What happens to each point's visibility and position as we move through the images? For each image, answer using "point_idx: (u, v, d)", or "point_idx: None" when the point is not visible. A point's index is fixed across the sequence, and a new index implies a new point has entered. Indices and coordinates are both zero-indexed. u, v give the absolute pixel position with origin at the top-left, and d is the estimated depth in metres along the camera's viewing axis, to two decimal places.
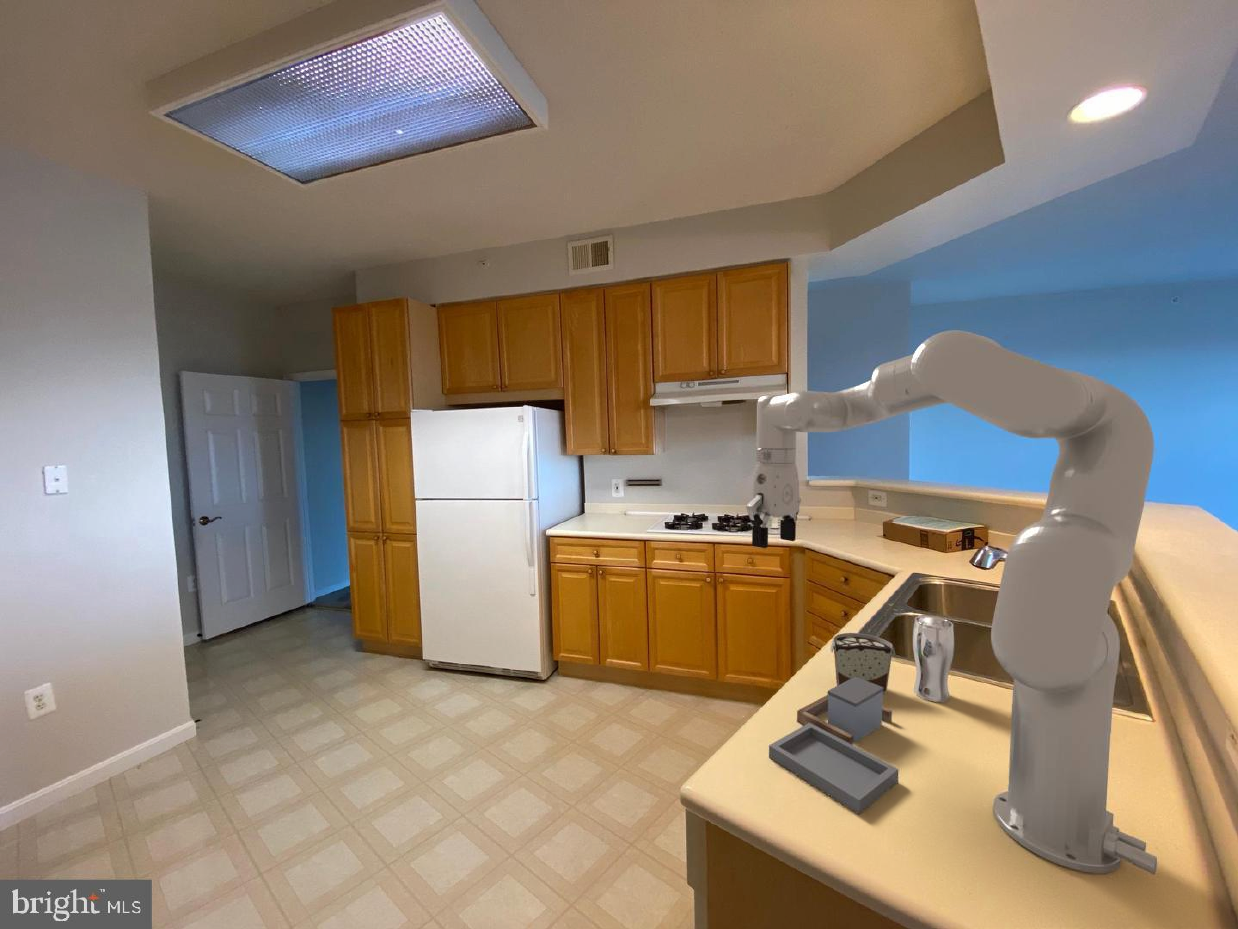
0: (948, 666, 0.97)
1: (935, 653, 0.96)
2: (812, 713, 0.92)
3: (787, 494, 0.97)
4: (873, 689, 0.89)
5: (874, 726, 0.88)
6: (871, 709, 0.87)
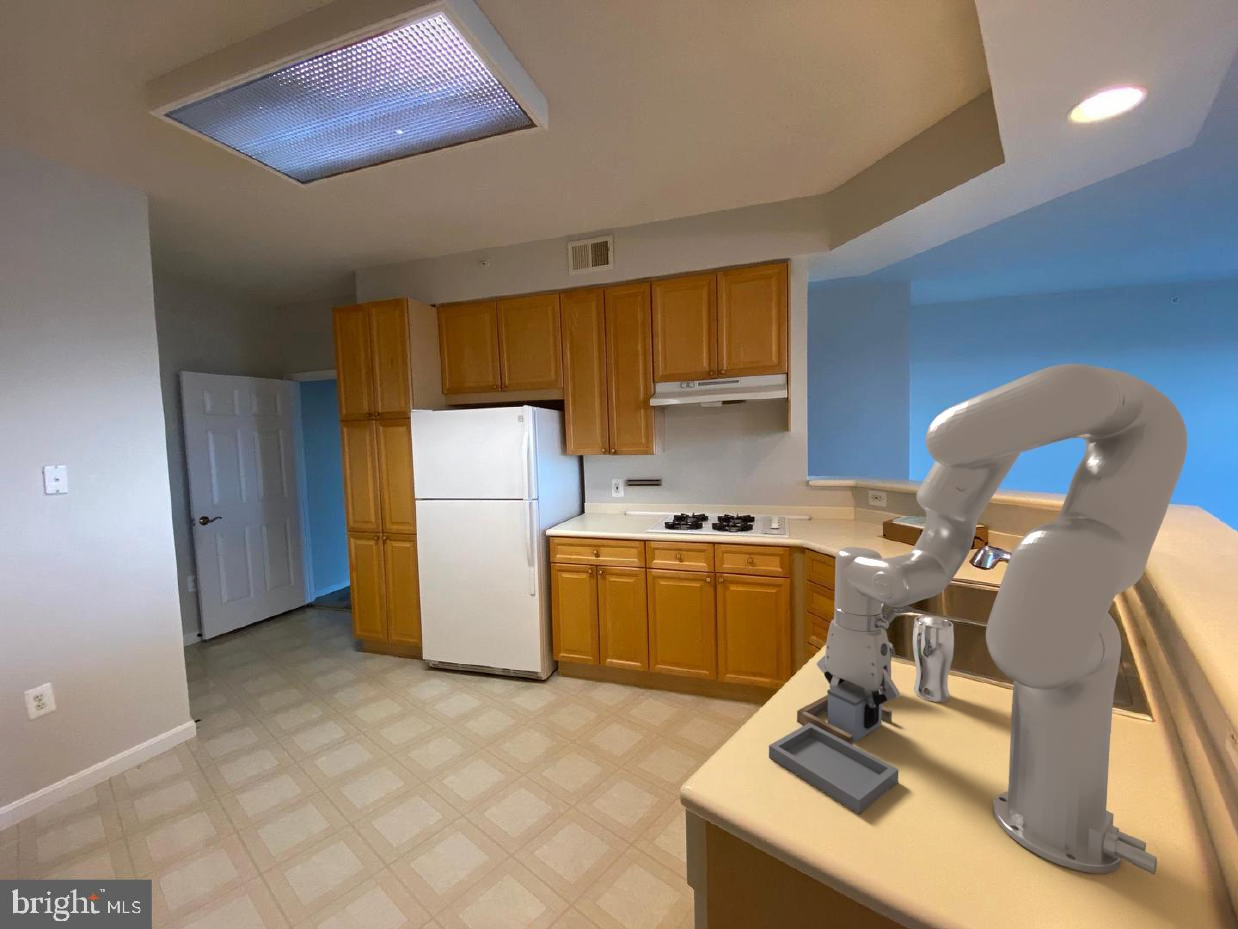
0: (948, 666, 0.97)
1: (935, 653, 0.96)
2: (812, 713, 0.92)
3: None
4: None
5: (874, 725, 0.88)
6: None
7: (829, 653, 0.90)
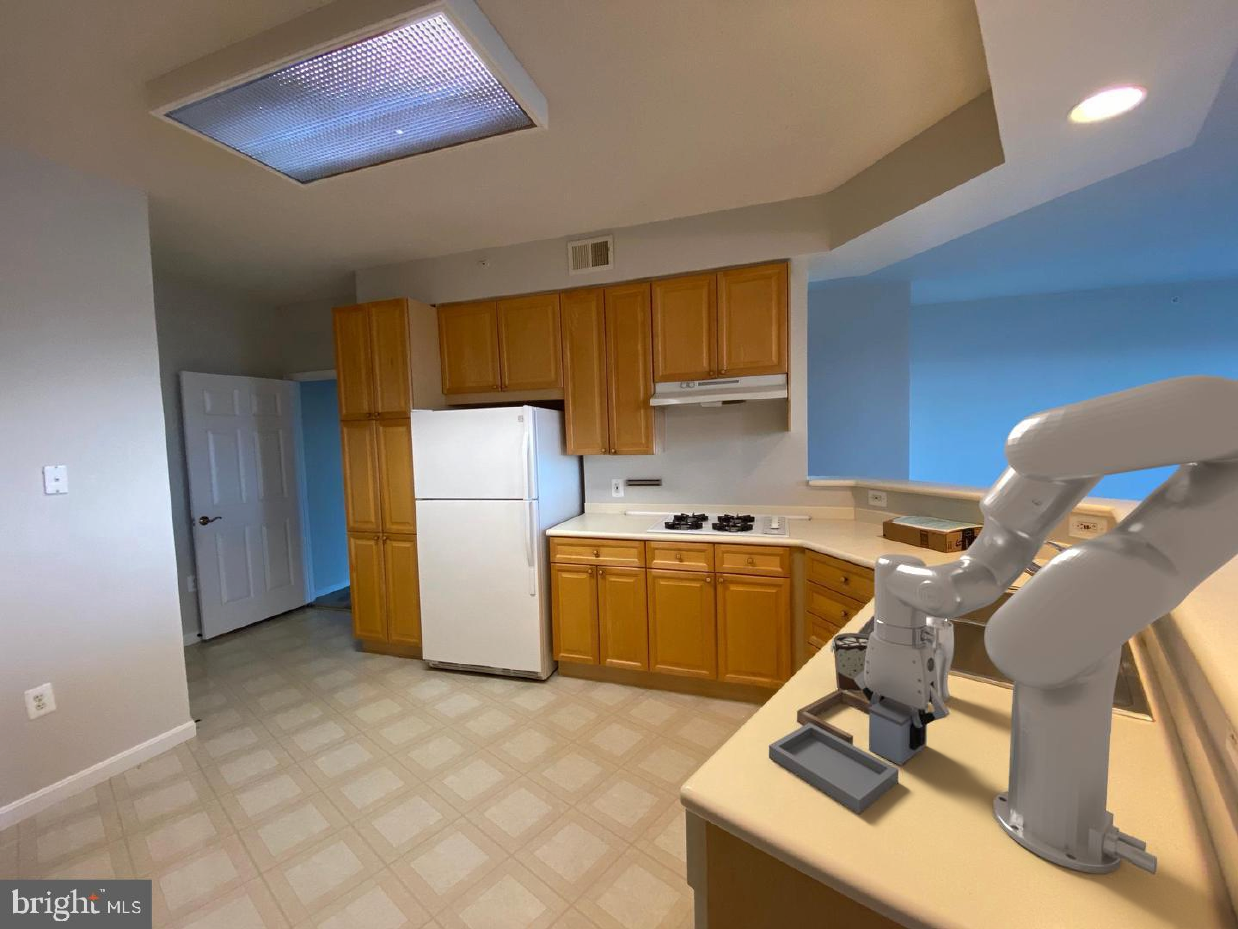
0: (948, 666, 0.97)
1: (935, 653, 0.96)
2: (812, 713, 0.92)
3: None
4: None
5: None
6: None
7: (869, 668, 0.84)
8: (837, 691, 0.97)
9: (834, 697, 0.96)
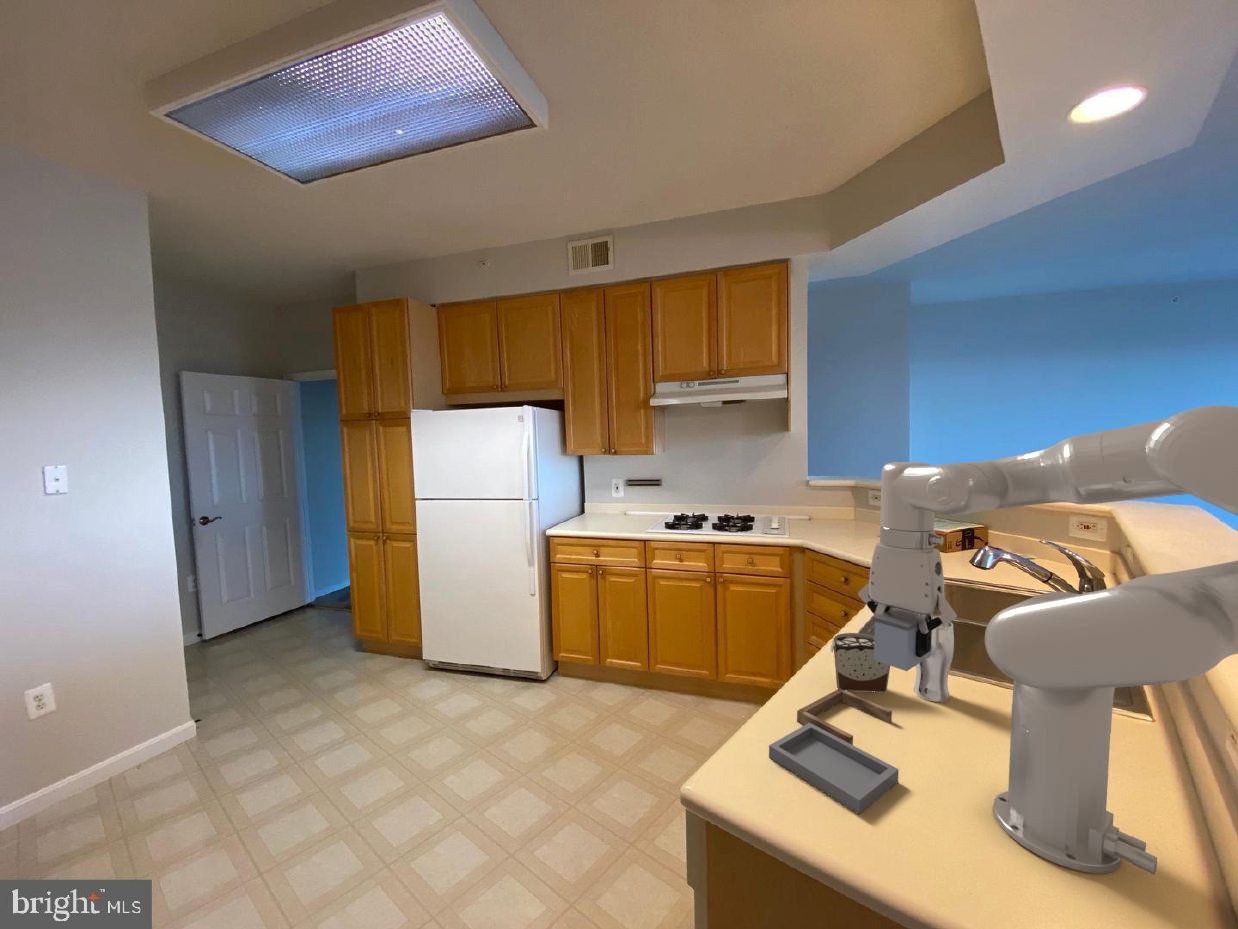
0: (948, 666, 0.97)
1: (935, 653, 0.96)
2: (812, 713, 0.92)
3: None
4: None
5: (924, 655, 0.81)
6: None
7: (874, 579, 0.82)
8: (837, 691, 0.97)
9: (834, 697, 0.96)
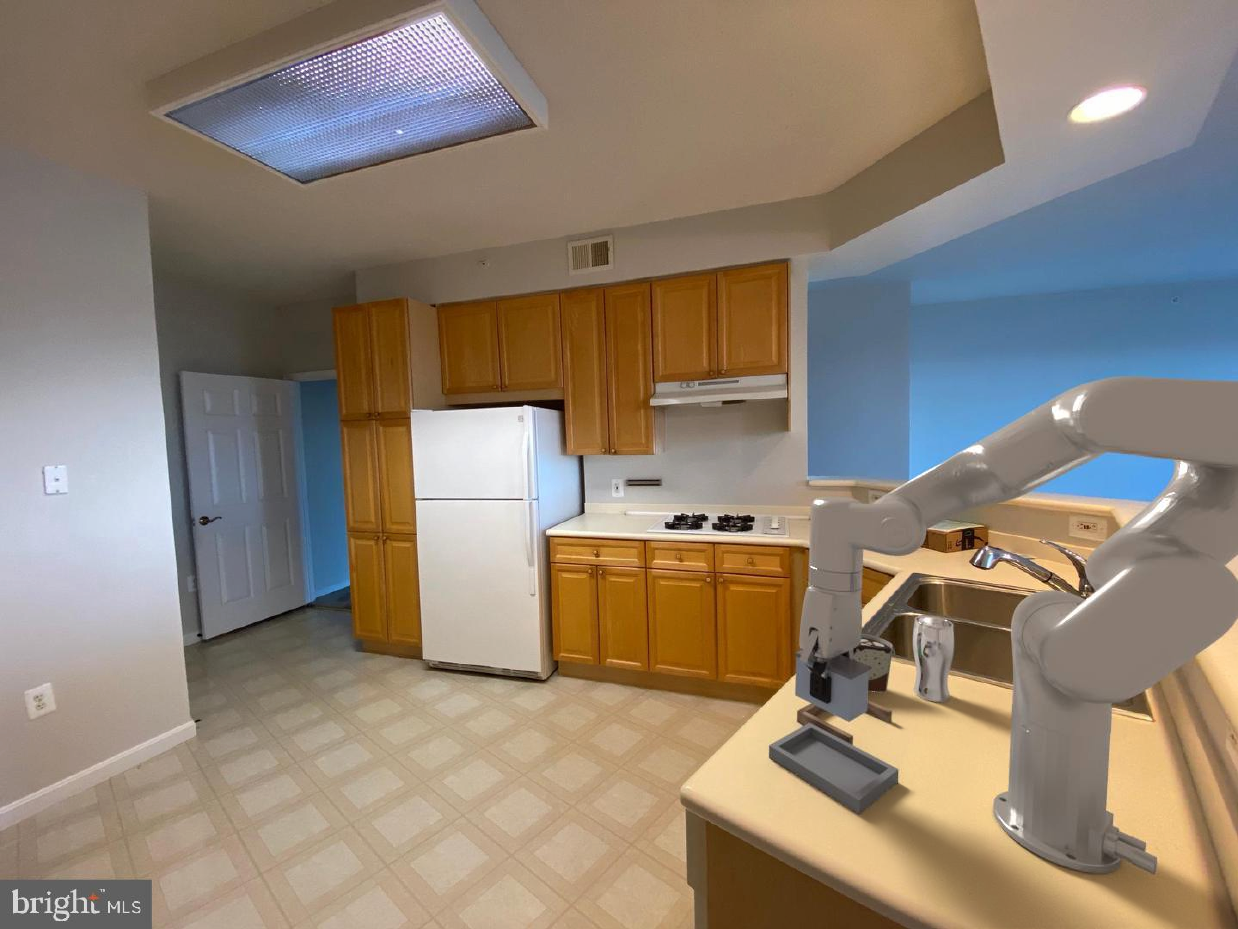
0: (948, 666, 0.97)
1: (935, 653, 0.96)
2: (812, 713, 0.92)
3: None
4: None
5: None
6: None
7: (832, 634, 0.72)
8: None
9: None
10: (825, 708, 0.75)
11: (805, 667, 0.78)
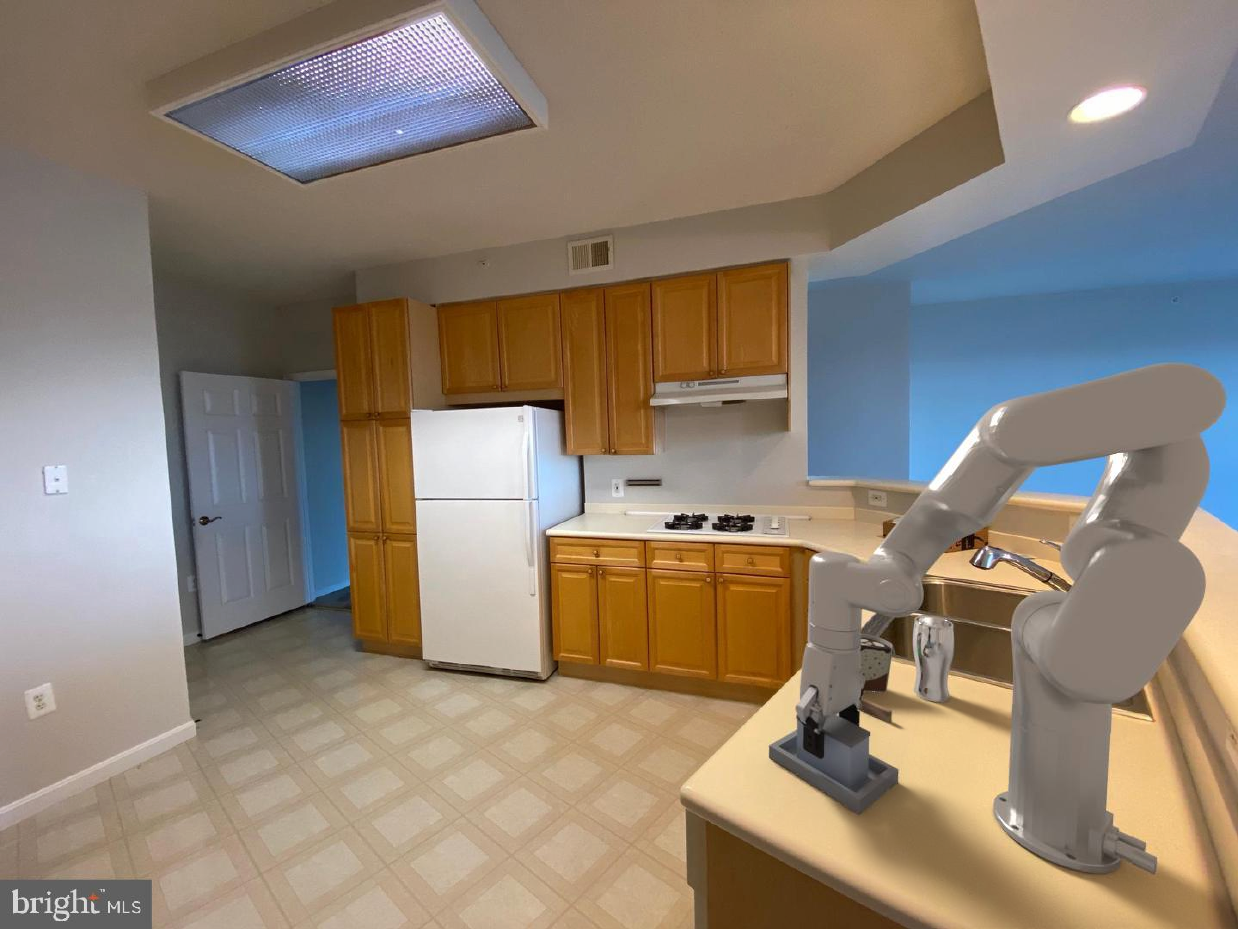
0: (948, 666, 0.97)
1: (935, 653, 0.96)
2: None
3: None
4: None
5: None
6: None
7: (832, 692, 0.73)
8: None
9: None
10: (826, 773, 0.76)
11: None
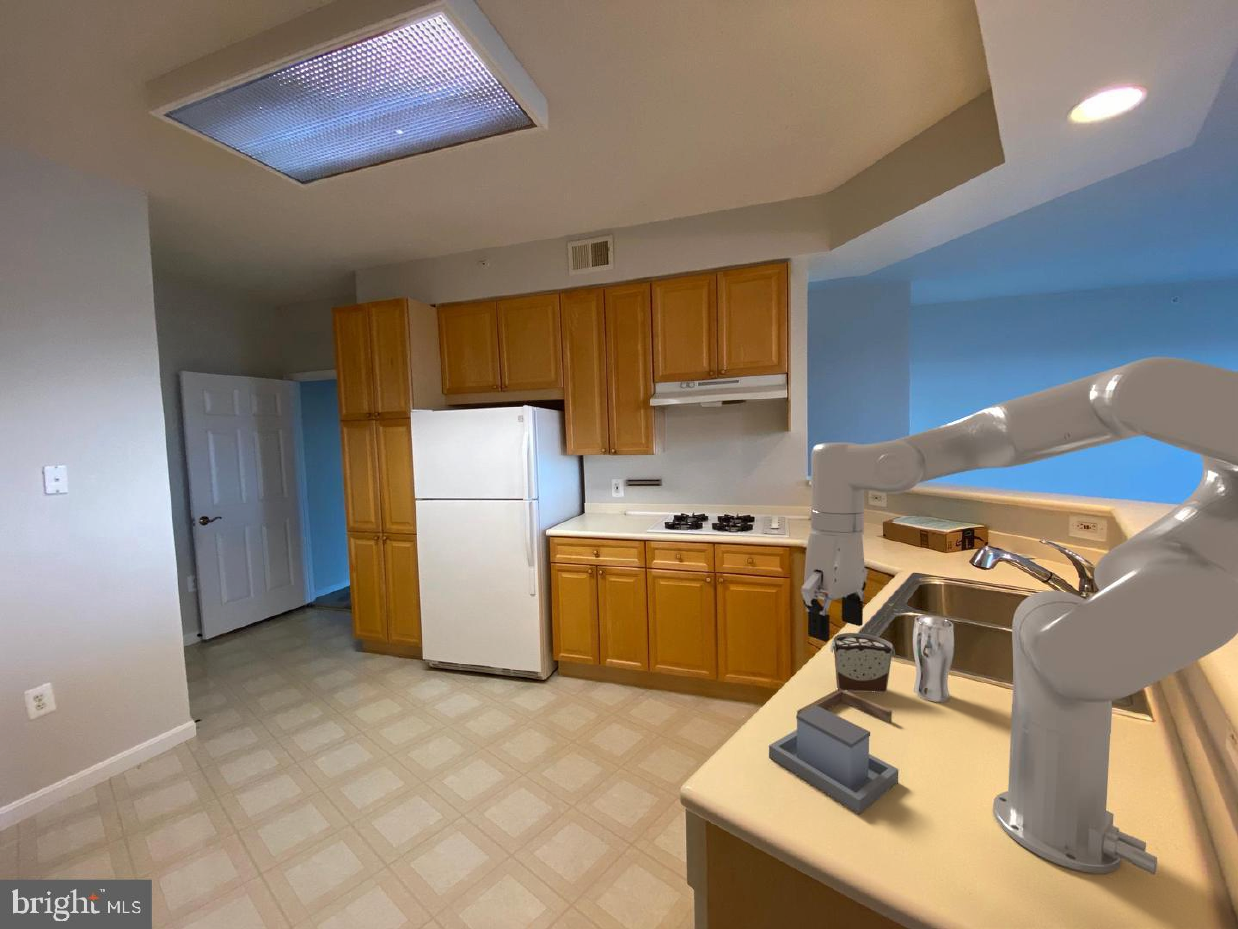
0: (948, 666, 0.97)
1: (935, 653, 0.96)
2: None
3: None
4: (824, 712, 0.80)
5: None
6: None
7: (836, 574, 0.73)
8: (837, 691, 0.97)
9: (834, 697, 0.96)
10: (826, 773, 0.76)
11: (806, 731, 0.78)
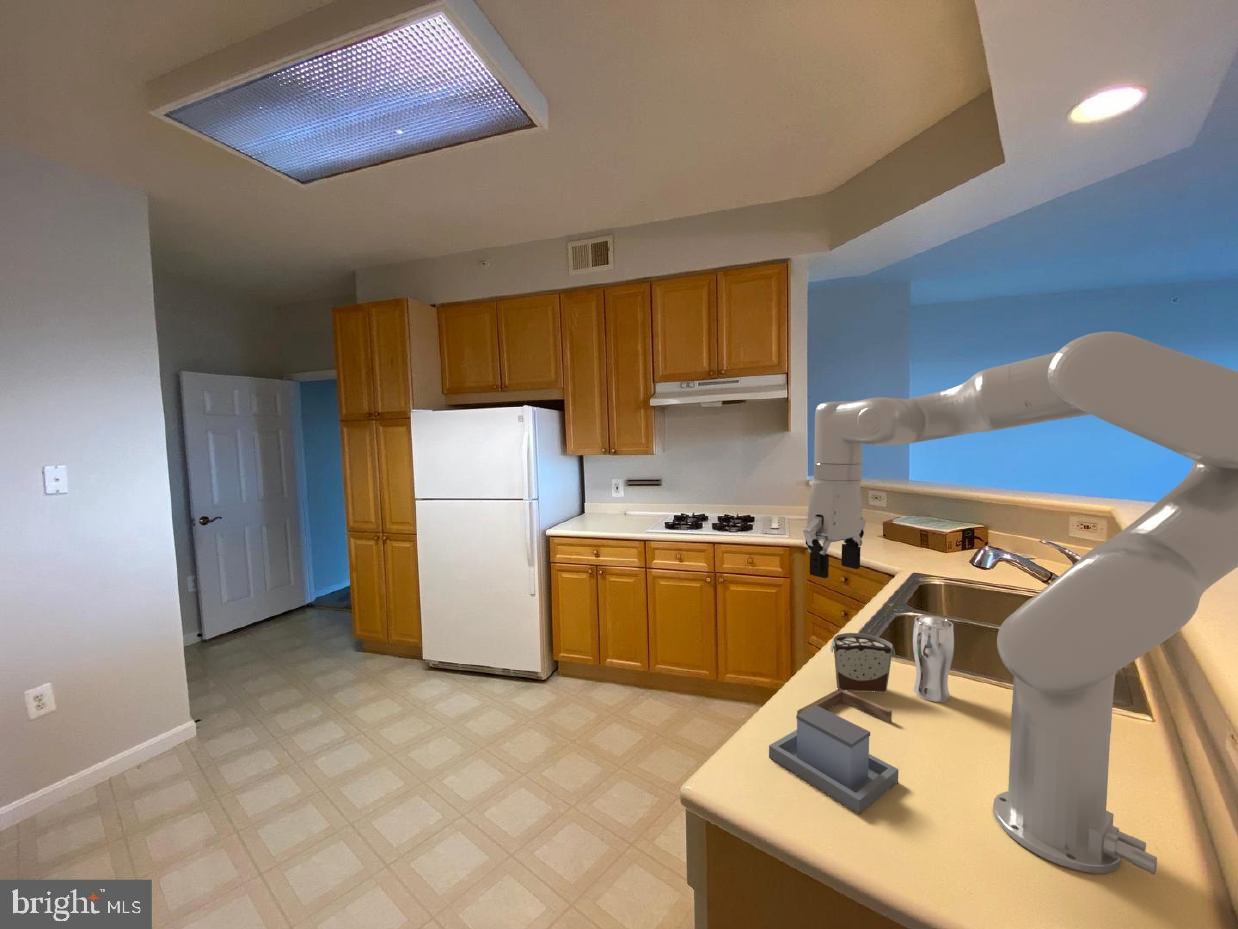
0: (948, 666, 0.97)
1: (935, 653, 0.96)
2: None
3: None
4: (824, 712, 0.80)
5: None
6: None
7: (835, 518, 0.82)
8: (837, 691, 0.97)
9: (834, 697, 0.96)
10: (826, 773, 0.76)
11: (806, 731, 0.78)
